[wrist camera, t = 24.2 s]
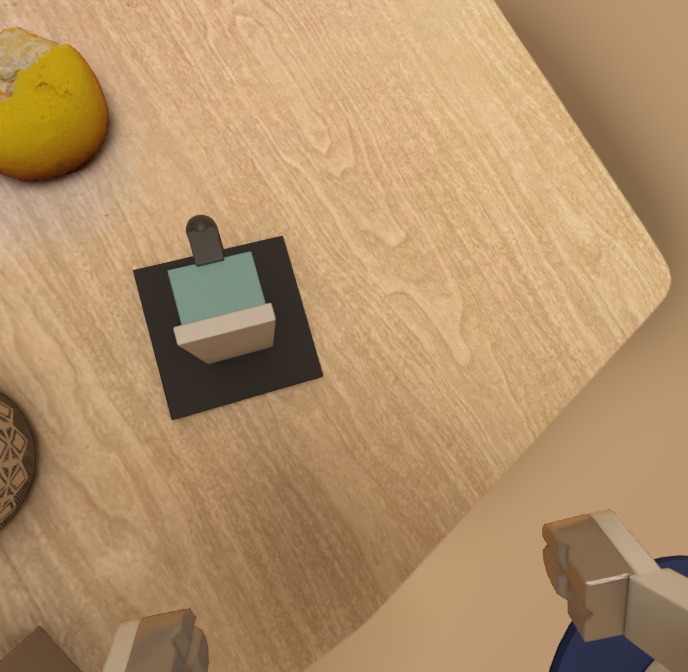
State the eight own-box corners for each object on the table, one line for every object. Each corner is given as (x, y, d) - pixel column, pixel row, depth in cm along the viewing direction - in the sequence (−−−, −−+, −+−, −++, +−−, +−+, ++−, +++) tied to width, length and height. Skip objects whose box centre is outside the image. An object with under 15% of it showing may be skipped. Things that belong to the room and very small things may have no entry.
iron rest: (321, 376, 40) (323, 376, 39) (174, 419, 38) (171, 420, 37) (282, 239, 41) (282, 235, 40) (136, 273, 39) (132, 270, 38)
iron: (273, 346, 39) (276, 320, 26) (207, 364, 38) (177, 345, 25) (248, 257, 39) (239, 188, 26) (183, 272, 38) (142, 208, 26)
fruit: (69, 32, 40) (43, -24, 32) (138, 155, 43) (128, 129, 35) (-72, 83, 37) (-136, 34, 30) (10, 210, 40) (-29, 194, 32)
